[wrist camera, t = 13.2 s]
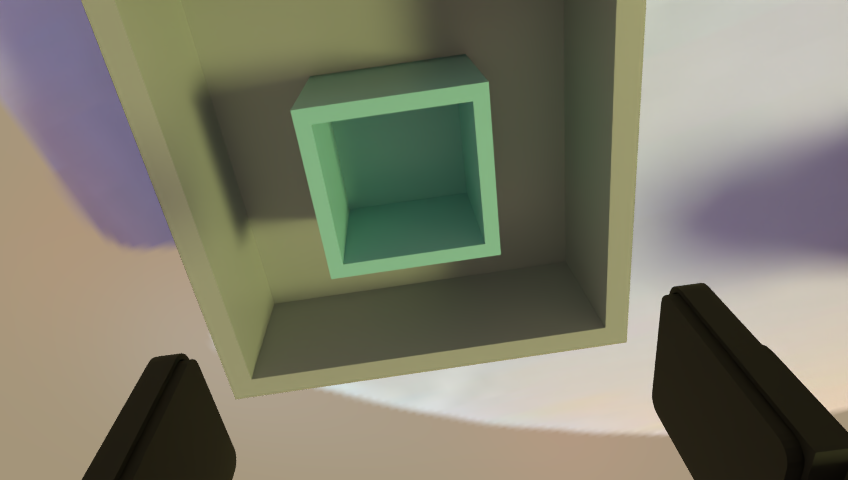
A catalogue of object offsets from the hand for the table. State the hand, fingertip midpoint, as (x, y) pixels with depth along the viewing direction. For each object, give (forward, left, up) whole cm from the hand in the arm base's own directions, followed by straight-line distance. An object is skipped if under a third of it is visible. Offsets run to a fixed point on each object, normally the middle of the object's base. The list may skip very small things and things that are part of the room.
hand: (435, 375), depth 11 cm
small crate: (0, 0, -17) cm, 17 cm away
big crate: (0, 0, -18) cm, 18 cm away
